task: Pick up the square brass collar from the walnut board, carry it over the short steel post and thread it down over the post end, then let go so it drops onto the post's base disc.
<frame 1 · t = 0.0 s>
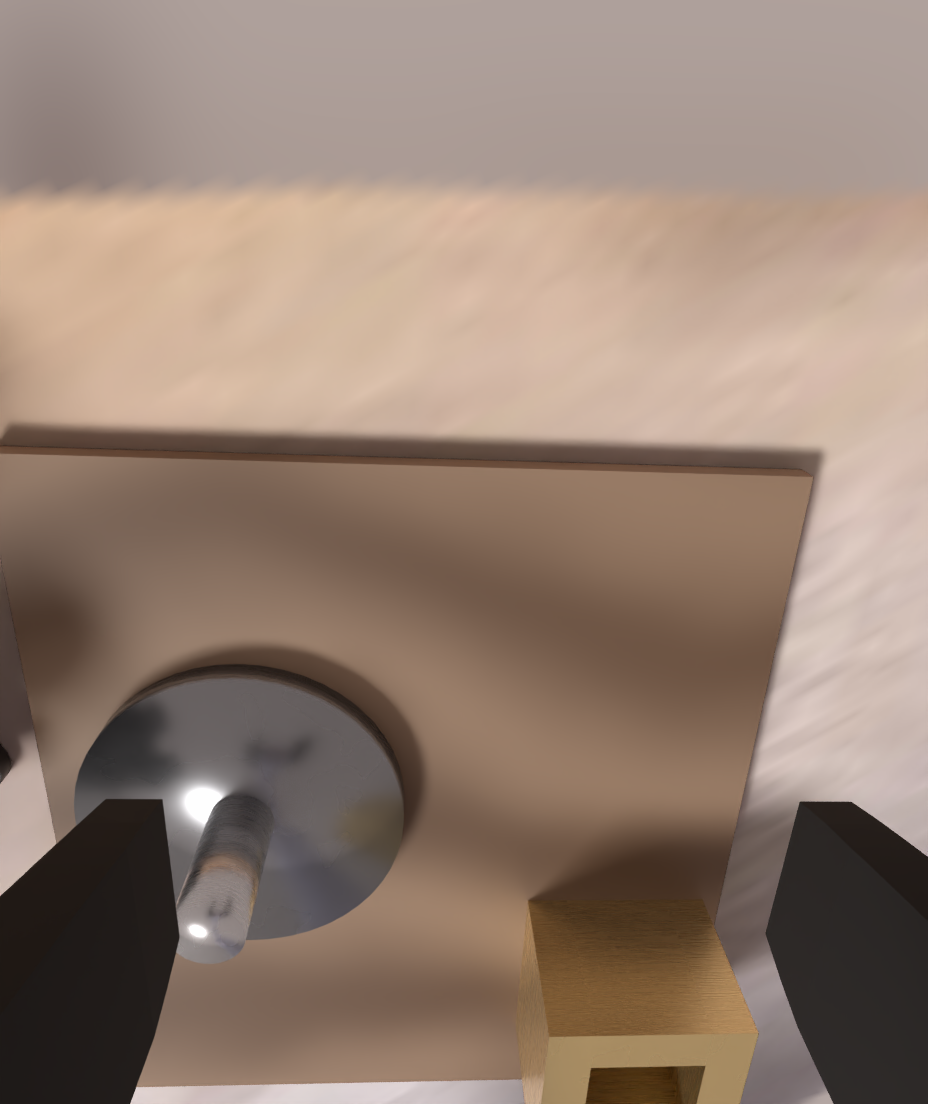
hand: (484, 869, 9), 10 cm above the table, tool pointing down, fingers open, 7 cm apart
board: (404, 814, 21), on the table
stand: (248, 799, 20), resting on board
collar: (605, 964, 23), point 1 cm above the table, touching board
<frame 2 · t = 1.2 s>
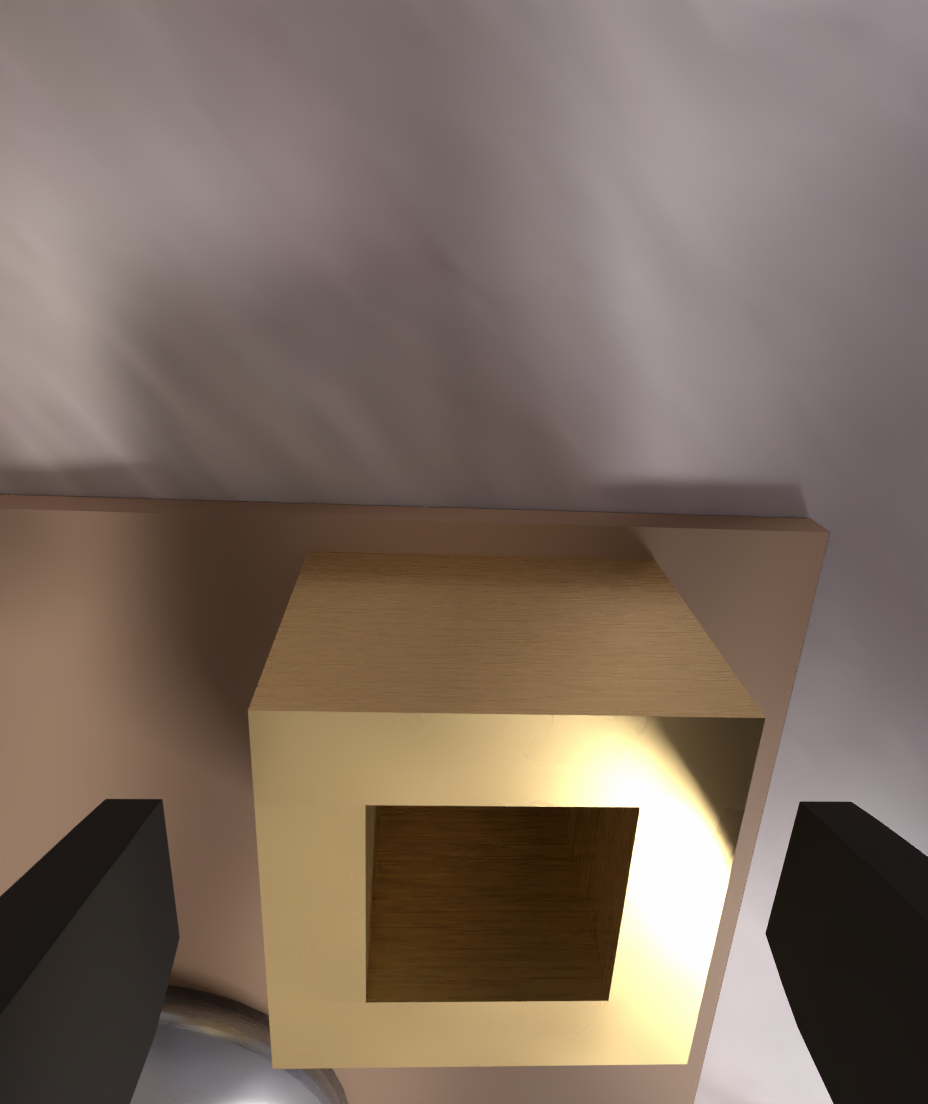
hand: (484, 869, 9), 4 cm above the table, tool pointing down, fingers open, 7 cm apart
board: (191, 953, 15), on the table
collar: (474, 703, 12), point 1 cm above the table, touching board
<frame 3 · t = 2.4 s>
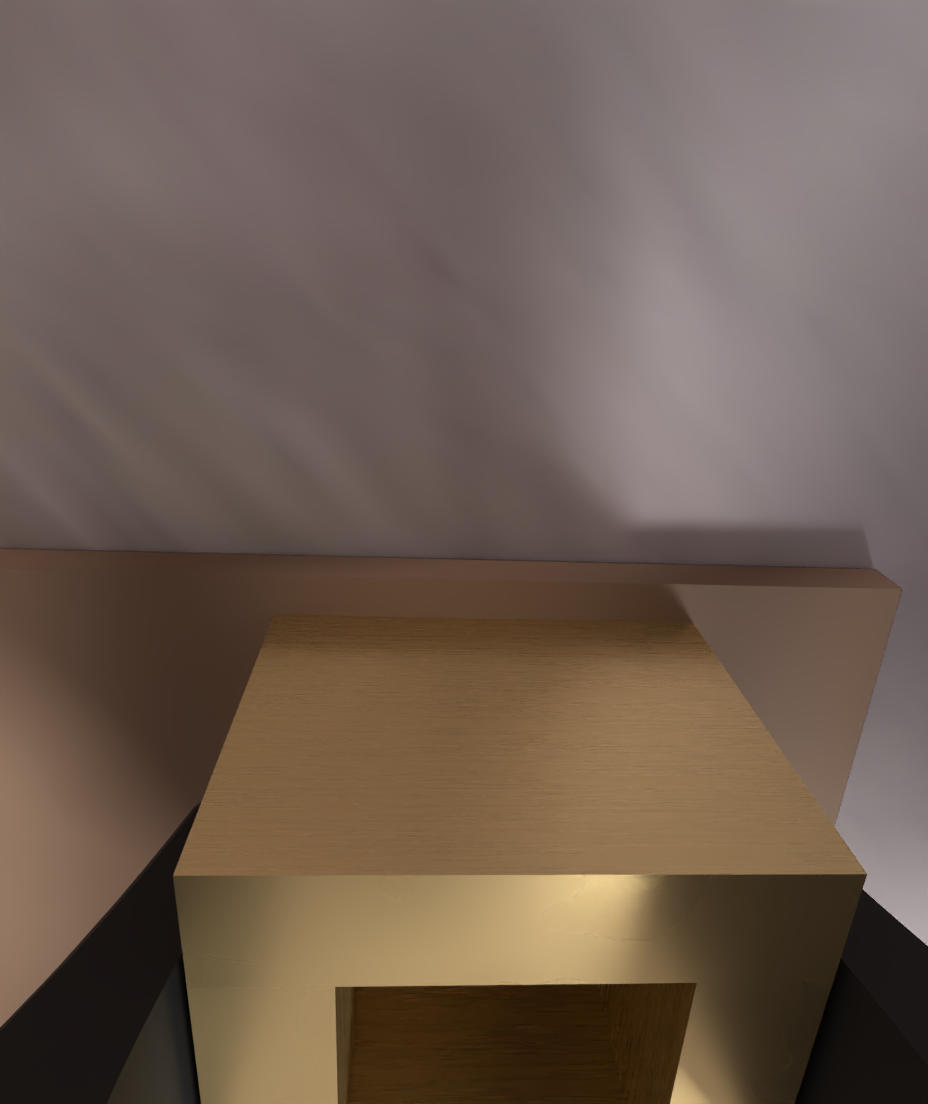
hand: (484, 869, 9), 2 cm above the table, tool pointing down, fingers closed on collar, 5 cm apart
board: (149, 1060, 13), on the table
collar: (476, 788, 10), point 1 cm above the table, touching board, gripper
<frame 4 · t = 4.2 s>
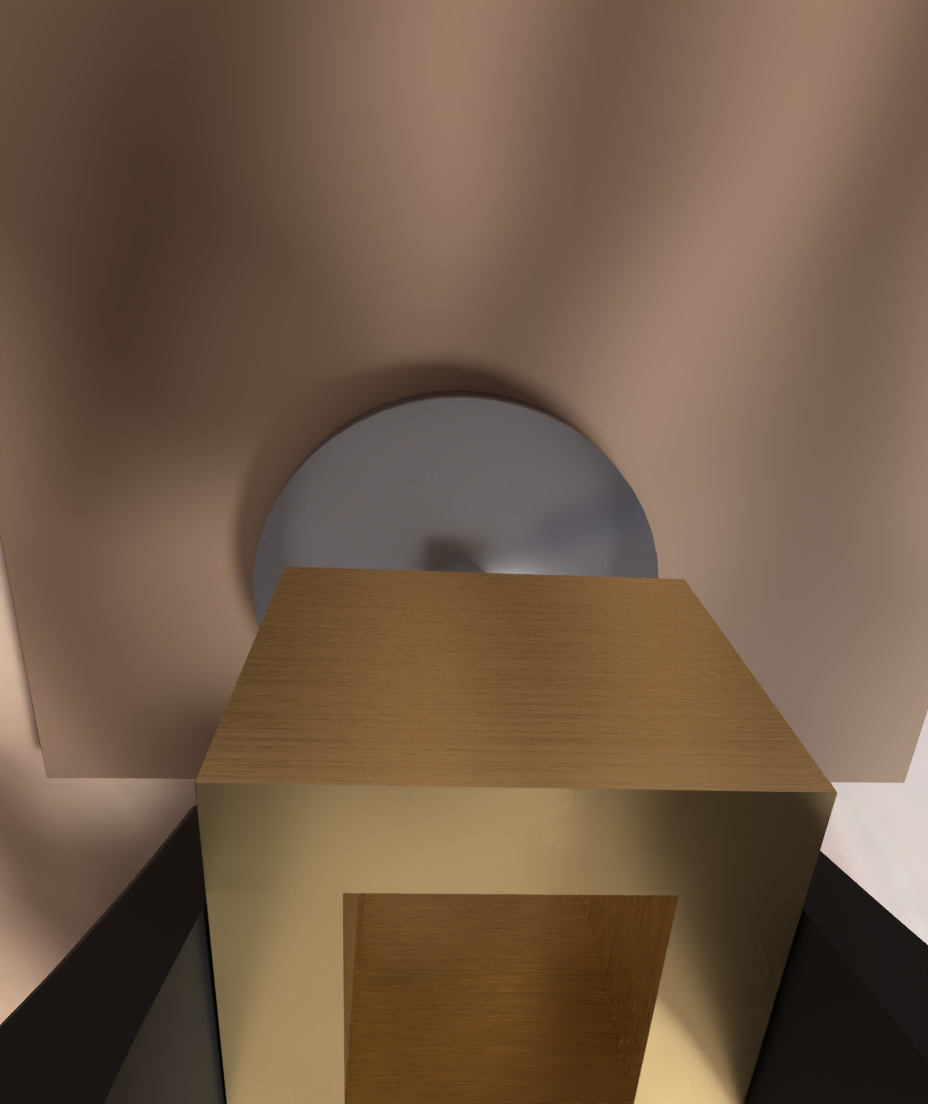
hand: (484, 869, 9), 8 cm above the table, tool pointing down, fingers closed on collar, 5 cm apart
board: (515, 386, 15), on the table
stand: (456, 583, 16), resting on board
collar: (475, 738, 11), point 6 cm above the table, touching gripper
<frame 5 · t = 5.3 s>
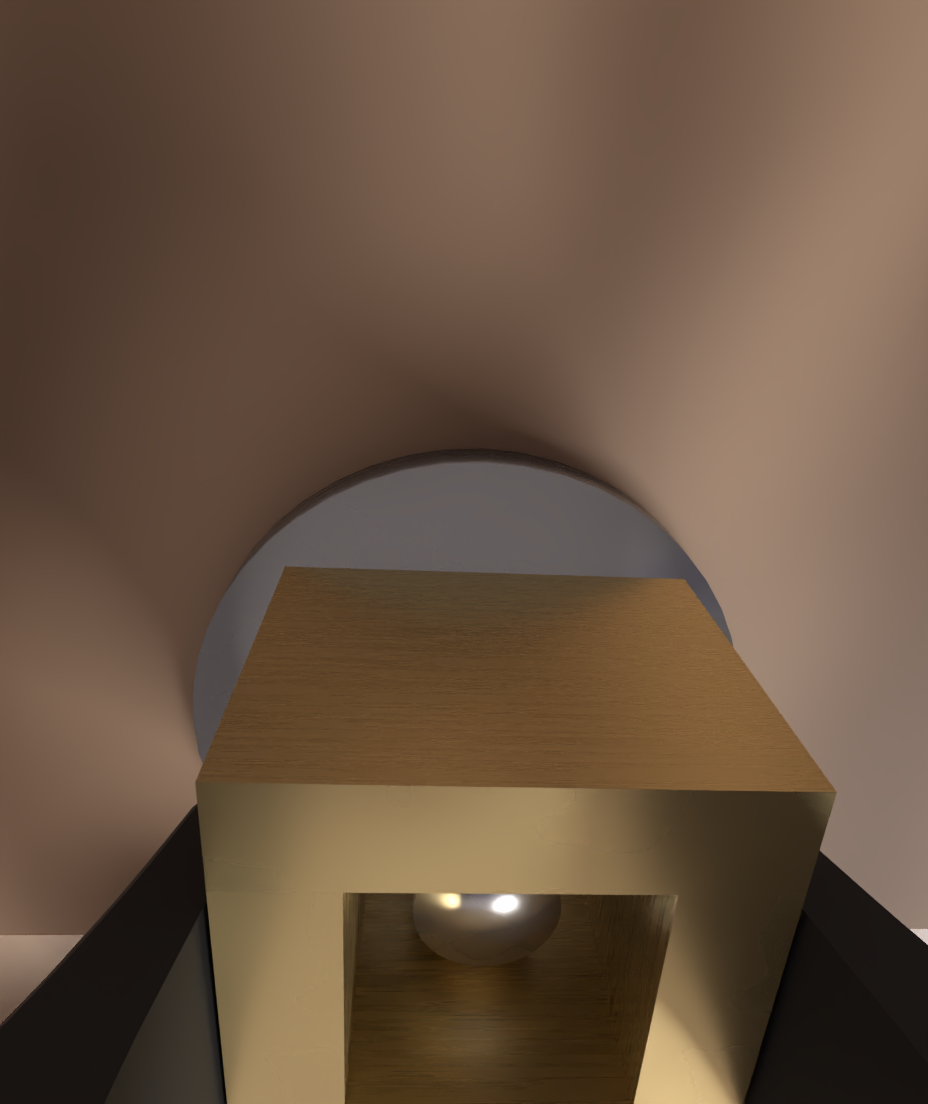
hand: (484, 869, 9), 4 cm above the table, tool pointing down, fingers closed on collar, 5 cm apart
board: (546, 439, 11), on the table
stand: (466, 696, 12), resting on board
collar: (475, 738, 11), point 2 cm above the table, touching gripper
when the fingers open (4 cm above the table, at t = 6.3 s): collar stays where it is, resting on stand.
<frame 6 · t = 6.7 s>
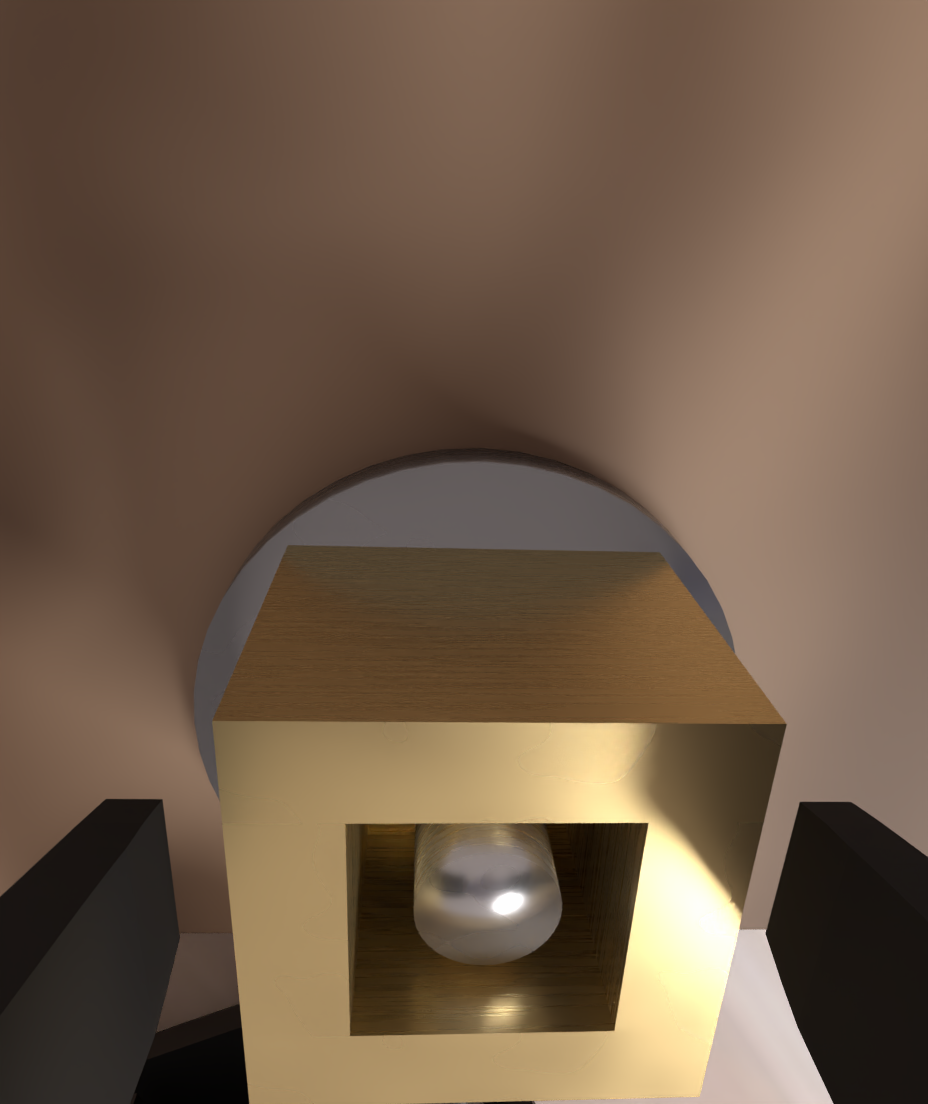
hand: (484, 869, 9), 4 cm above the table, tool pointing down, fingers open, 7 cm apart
end cap: (304, 1099, 17), on the table
board: (546, 439, 11), on the table
stand: (467, 695, 12), resting on board
collar: (468, 707, 11), point 1 cm above the table, touching stand
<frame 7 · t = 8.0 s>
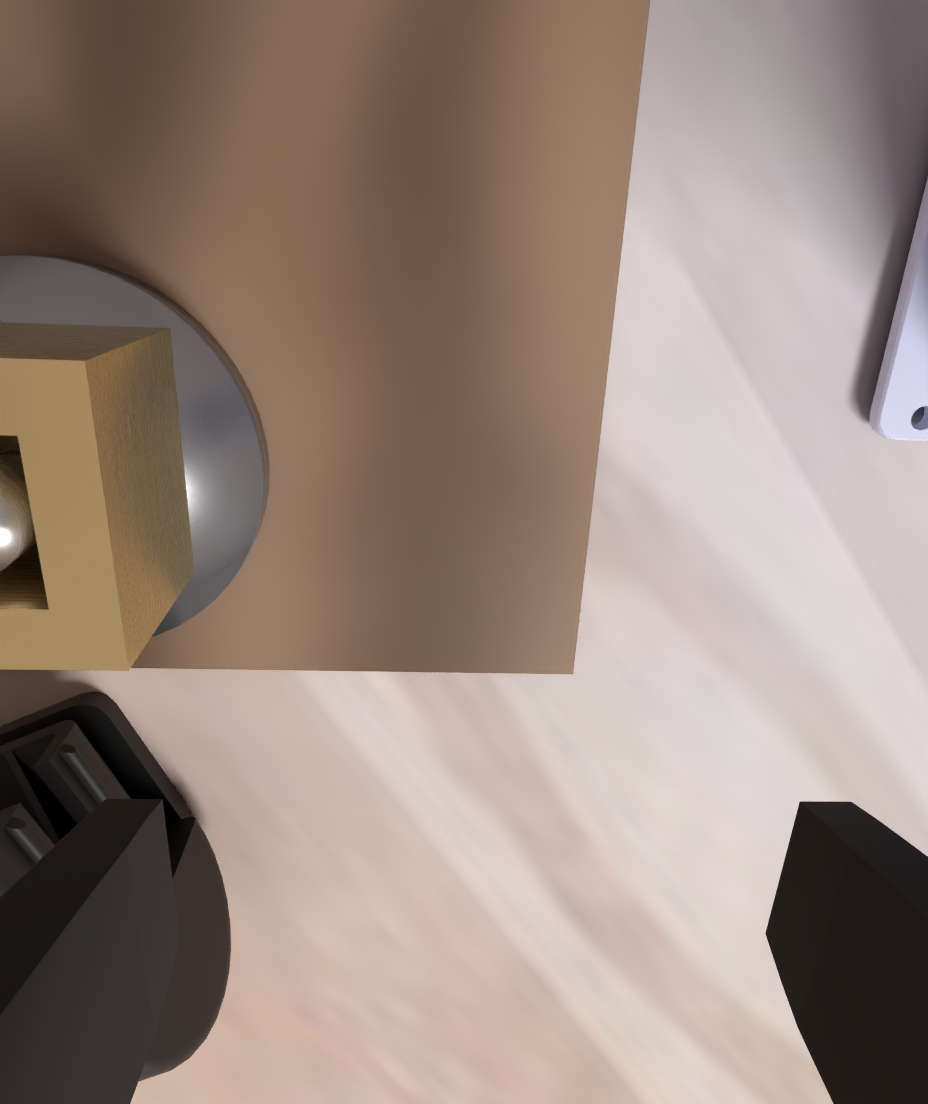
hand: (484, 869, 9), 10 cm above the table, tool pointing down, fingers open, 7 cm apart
end cap: (33, 840, 21), on the table
board: (111, 256, 15), on the table
stand: (75, 459, 16), resting on board
collar: (54, 454, 15), point 1 cm above the table, touching stand
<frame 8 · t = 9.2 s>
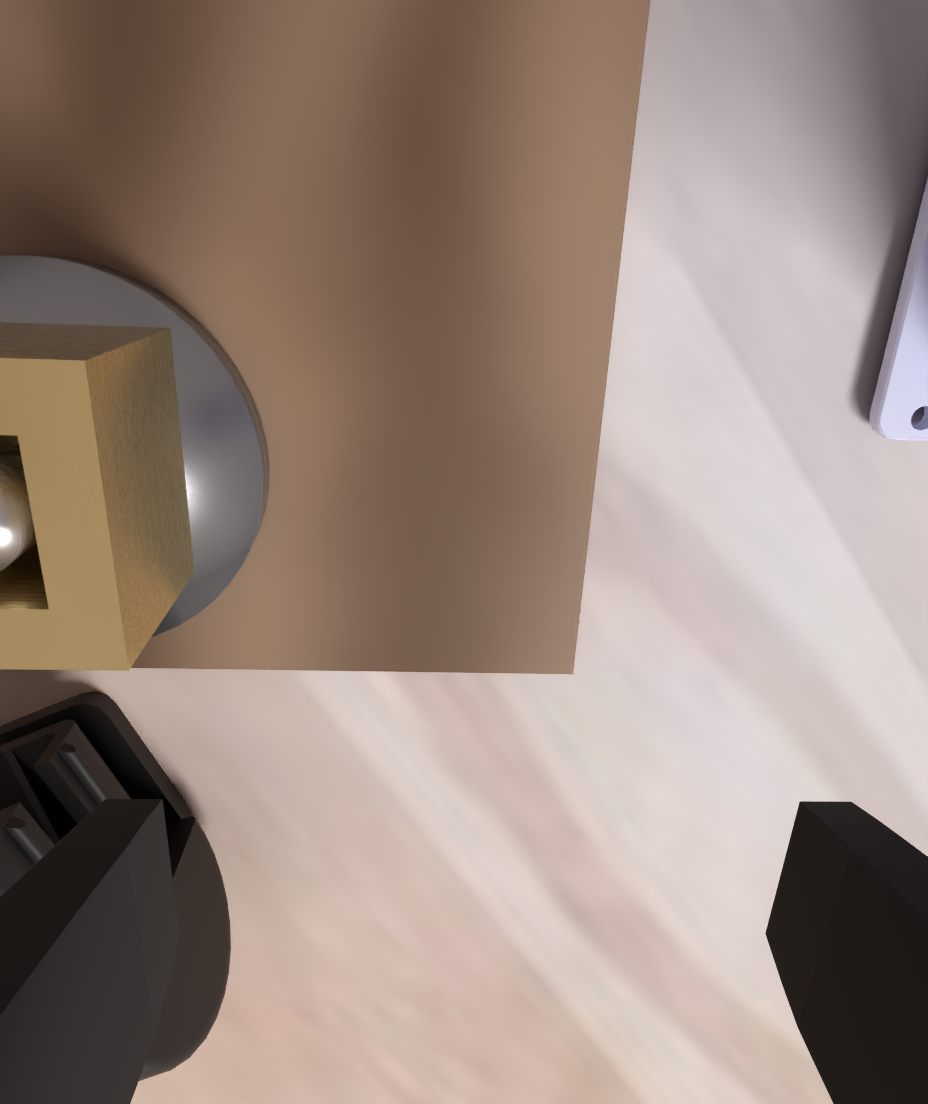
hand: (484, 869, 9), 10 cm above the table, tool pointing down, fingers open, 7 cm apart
end cap: (33, 840, 21), on the table
board: (111, 255, 15), on the table
stand: (75, 459, 16), resting on board
collar: (54, 454, 15), point 1 cm above the table, touching stand
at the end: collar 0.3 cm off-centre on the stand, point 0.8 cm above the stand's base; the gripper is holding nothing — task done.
